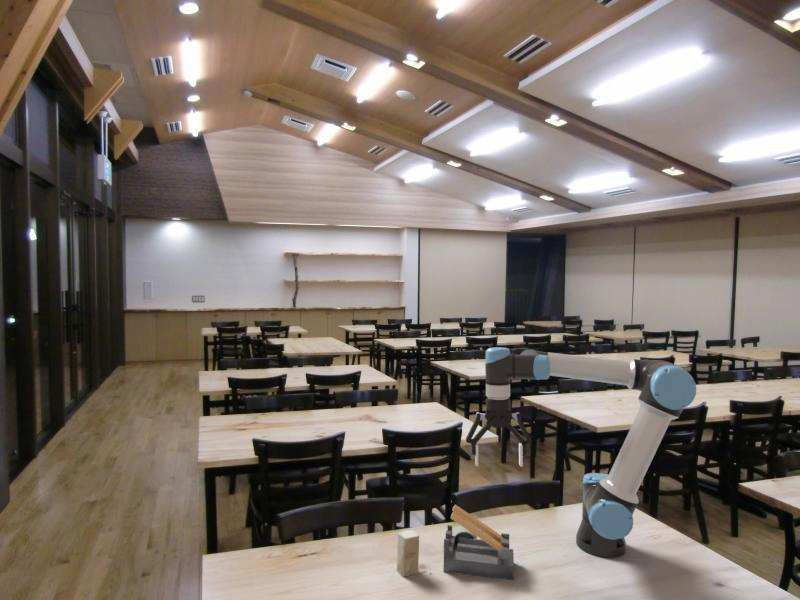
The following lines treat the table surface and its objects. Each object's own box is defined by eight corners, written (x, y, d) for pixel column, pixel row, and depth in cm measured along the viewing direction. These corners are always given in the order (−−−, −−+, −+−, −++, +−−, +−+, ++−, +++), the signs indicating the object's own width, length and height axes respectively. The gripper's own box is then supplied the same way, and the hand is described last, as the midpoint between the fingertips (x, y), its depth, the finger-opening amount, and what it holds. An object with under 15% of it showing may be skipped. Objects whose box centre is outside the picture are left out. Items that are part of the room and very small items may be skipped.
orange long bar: (506, 544, 158) (509, 539, 158) (506, 548, 156) (509, 543, 156) (452, 508, 162) (455, 503, 161) (451, 511, 159) (454, 506, 159)
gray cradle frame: (513, 562, 159) (513, 534, 159) (513, 580, 149) (514, 550, 149) (447, 554, 163) (447, 527, 163) (443, 571, 153) (444, 542, 153)
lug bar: (455, 543, 163) (455, 525, 163) (452, 559, 153) (452, 540, 153) (447, 542, 163) (447, 524, 163) (443, 558, 153) (444, 539, 153)
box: (403, 577, 150) (403, 538, 150) (396, 570, 154) (396, 532, 154) (419, 572, 153) (419, 535, 152) (412, 565, 156) (412, 529, 156)
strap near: (506, 553, 153) (509, 548, 153) (506, 557, 151) (509, 552, 151) (450, 515, 156) (453, 510, 156) (449, 519, 154) (453, 514, 154)
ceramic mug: (477, 545, 170) (477, 521, 170) (476, 558, 162) (476, 533, 162) (444, 543, 171) (444, 519, 171) (442, 555, 163) (442, 530, 163)
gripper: (536, 394, 167) (537, 461, 167) (457, 395, 169) (458, 460, 169) (541, 399, 159) (541, 469, 160) (458, 399, 161) (459, 468, 161)
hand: (498, 465), depth 164 cm, fingers open, 13 cm apart
